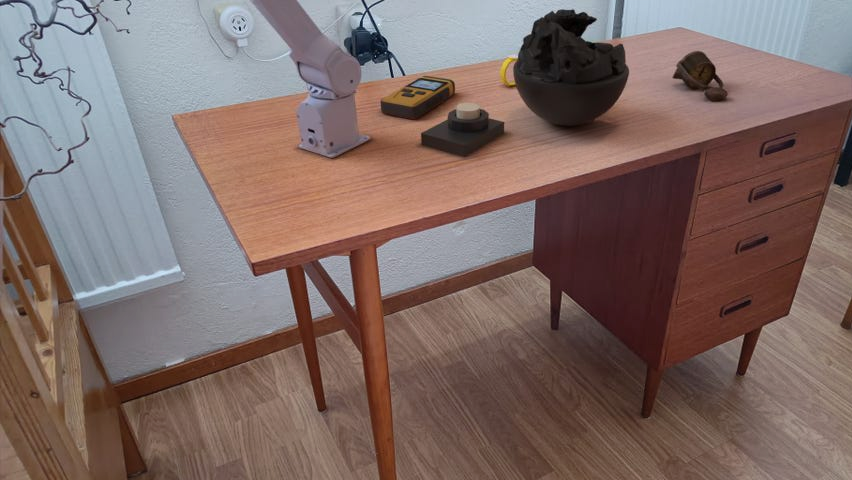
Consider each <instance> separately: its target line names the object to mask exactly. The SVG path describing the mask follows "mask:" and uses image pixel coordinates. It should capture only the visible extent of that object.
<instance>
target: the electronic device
mask: <svg viewBox="0 0 852 480" xmlns="http://www.w3.org/2000/svg"><path fill="white" fill-rule="evenodd" d="M455 92H456V84H455V81H454V80H452V79H449V78H443V77H436V76H430V75H422V76H420V77H419V78H417V79H415V80H413V81H412V82H410V83H408V84H406V85H405V86H403V87H401V88H399V89H397V90H395V91H394V92H392V93H390V94H388V95H386V96H385V97H383V98H382V99H381V100H380V102H379V103H380V104H379V105H380V111H381V113H382V114H384V115H390V116H394V117H400V118H405V119H411V120H416V119H418V118H420V117H421V116H423V115H424V114H426V113H427V112H429V111H431V110H432V109H434V108H436V107H438V105H440V104H441V103H444V102H445V101H447V100H448V99H449V98H451V97H452V96H454V95H455V94H456V93H455Z"/></svg>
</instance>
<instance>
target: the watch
mask: <svg viewBox="0 0 852 480" xmlns="http://www.w3.org/2000/svg"><path fill="white" fill-rule="evenodd" d="M517 60H518V54H508V55H507V58H506V59H505V60H504V62H503V64H502V65H501V67H500V73H499V75H500V81H501V83H503V85H505V86H506V87H513V86H516V84H515V81H513V82H508V80H507V77H506V75H507V69H508V68H509V65H510V64H511V63H512V62H516V61H517Z"/></svg>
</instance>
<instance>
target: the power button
mask: <svg viewBox="0 0 852 480" xmlns="http://www.w3.org/2000/svg"><path fill="white" fill-rule="evenodd" d="M455 109H456V114H457V118H459V119H463V120H472V119H477V118H479V117H480V109H481V106H480V105H479V104H478V103H474V102H463V103H459V104H457V105H456V108H455Z"/></svg>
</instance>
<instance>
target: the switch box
mask: <svg viewBox="0 0 852 480" xmlns="http://www.w3.org/2000/svg"><path fill="white" fill-rule="evenodd" d="M504 134H505V121H502V120H498V119H494V118H490V114H489V112H488V111H486V110H485V109H482V108H480V117H479V118H477V119H472V120H463V119H459V118H457V114H456V108H455V109H452V110H451V111H449V112H448V114H447V119H446V120H444V121H442V122H439V123H438V124H435V125H434V126H432V127H430V128H428V129H426V130H424V131H422V132H420V142H421V143H420V144H421V146H422V147H427V148H431V149H434V150H438V151H441V152H444V153H448V154H451V155H454V156H458V157H462V158H466V157H468V156H470V155H471V154H473V153H474V152H476V151H478V150H479V149H481V148H483V147H485V146H486V145H488V144H489V143H491V142H493V141H494V140H496V139H498V138H499V137H502V136H503V135H504Z"/></svg>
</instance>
